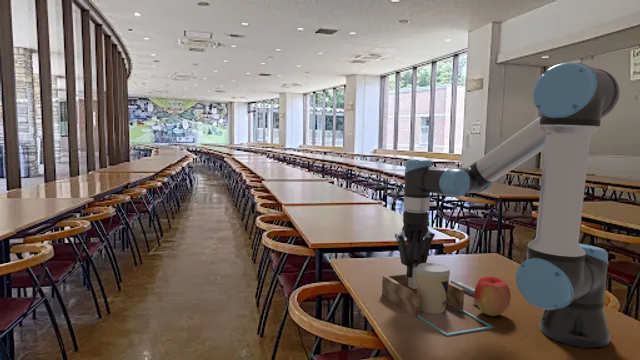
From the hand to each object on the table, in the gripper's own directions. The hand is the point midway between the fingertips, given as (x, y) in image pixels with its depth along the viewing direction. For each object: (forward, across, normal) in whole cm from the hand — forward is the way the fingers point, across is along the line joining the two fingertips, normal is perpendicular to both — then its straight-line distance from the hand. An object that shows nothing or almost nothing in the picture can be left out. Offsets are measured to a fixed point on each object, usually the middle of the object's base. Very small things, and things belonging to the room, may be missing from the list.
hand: (412, 287), depth 135 cm
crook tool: (+3, -17, +4) cm, 18 cm away
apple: (+3, -14, +19) cm, 23 cm away
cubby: (+3, 0, +5) cm, 5 cm away
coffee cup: (+3, 0, +10) cm, 10 cm away
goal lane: (+3, 0, +20) cm, 20 cm away
